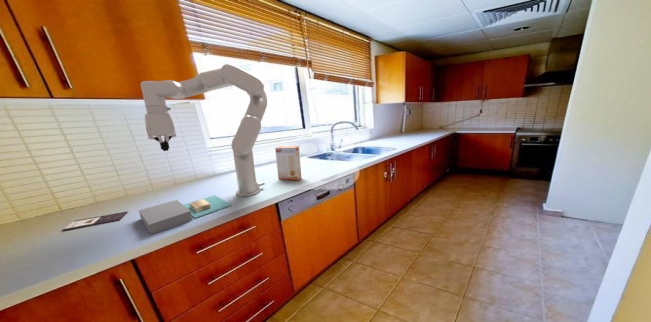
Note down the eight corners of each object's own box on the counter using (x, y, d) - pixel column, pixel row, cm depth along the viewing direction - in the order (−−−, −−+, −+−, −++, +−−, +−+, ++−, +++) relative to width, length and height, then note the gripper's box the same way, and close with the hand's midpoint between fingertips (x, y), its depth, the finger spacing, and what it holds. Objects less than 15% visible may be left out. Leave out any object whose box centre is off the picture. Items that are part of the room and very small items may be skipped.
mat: (214, 196, 118) (214, 195, 118) (232, 205, 105) (231, 204, 104) (180, 206, 106) (180, 205, 106) (195, 218, 93) (194, 217, 93)
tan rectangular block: (189, 203, 103) (190, 207, 104) (195, 208, 97) (196, 212, 98) (203, 199, 108) (204, 202, 108) (210, 203, 102) (210, 207, 102)
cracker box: (301, 178, 142) (299, 145, 137) (297, 180, 137) (294, 147, 132) (283, 176, 147) (280, 145, 142) (278, 179, 142) (274, 147, 137)
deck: (178, 207, 106) (176, 199, 105) (192, 219, 92) (190, 210, 92) (141, 218, 96) (138, 210, 95) (151, 234, 82) (148, 224, 82)
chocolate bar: (119, 219, 95) (61, 230, 88) (119, 221, 95) (62, 232, 88) (127, 211, 103) (75, 220, 96) (127, 213, 103) (75, 222, 96)
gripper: (173, 110, 107) (181, 147, 111) (134, 111, 97) (144, 152, 101) (178, 109, 102) (186, 148, 106) (137, 110, 92) (147, 154, 96)
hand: (165, 150), depth 104 cm, fingers closed
